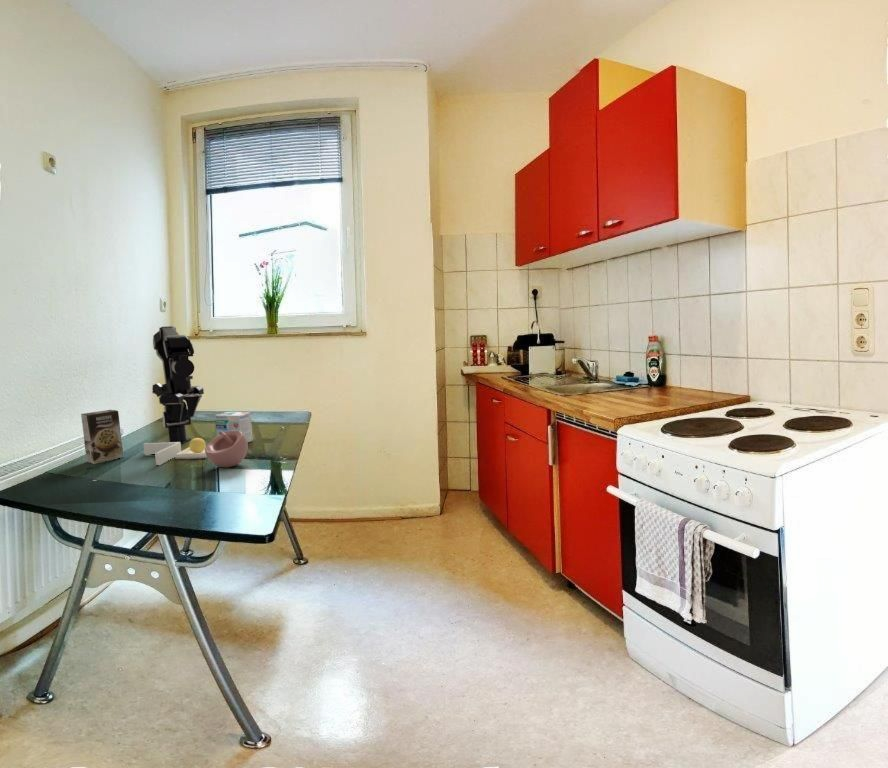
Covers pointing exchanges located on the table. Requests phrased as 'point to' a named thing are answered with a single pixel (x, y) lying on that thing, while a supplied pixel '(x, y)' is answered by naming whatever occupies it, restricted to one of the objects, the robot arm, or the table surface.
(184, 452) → the tray
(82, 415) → the brown upright rectangular box
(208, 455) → the pink slanted bowl
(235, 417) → the light bulb box
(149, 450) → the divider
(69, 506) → the table surface
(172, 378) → the robot arm
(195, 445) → the ball
